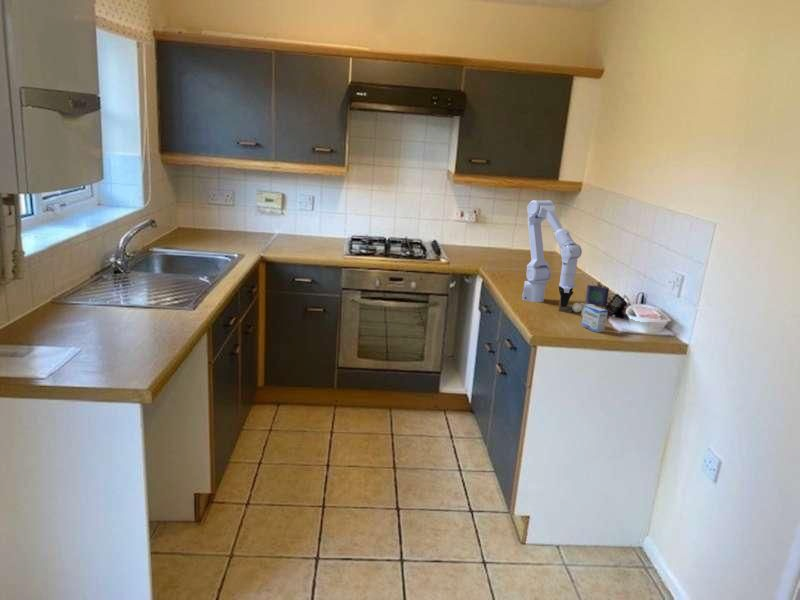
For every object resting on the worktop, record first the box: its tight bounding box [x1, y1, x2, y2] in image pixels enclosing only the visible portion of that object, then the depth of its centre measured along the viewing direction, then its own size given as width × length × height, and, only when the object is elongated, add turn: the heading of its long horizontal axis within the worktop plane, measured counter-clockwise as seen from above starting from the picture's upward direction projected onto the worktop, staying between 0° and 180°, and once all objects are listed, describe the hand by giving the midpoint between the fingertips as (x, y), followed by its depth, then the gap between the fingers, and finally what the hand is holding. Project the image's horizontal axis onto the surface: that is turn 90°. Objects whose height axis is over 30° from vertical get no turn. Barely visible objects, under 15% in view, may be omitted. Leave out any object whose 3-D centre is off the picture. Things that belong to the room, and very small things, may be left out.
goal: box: [580, 302, 594, 317], centre depth 247 cm, size 5×9×3 cm, turn 167°
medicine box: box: [581, 304, 609, 333], centre depth 228 cm, size 8×4×9 cm, turn 31°
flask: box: [584, 281, 610, 307], centre depth 261 cm, size 9×3×11 cm, turn 59°
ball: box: [571, 302, 582, 313], centre depth 247 cm, size 4×4×4 cm
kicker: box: [558, 295, 573, 314], centre depth 248 cm, size 5×5×7 cm
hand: (563, 305), depth 248 cm, fingers open, 3 cm apart
